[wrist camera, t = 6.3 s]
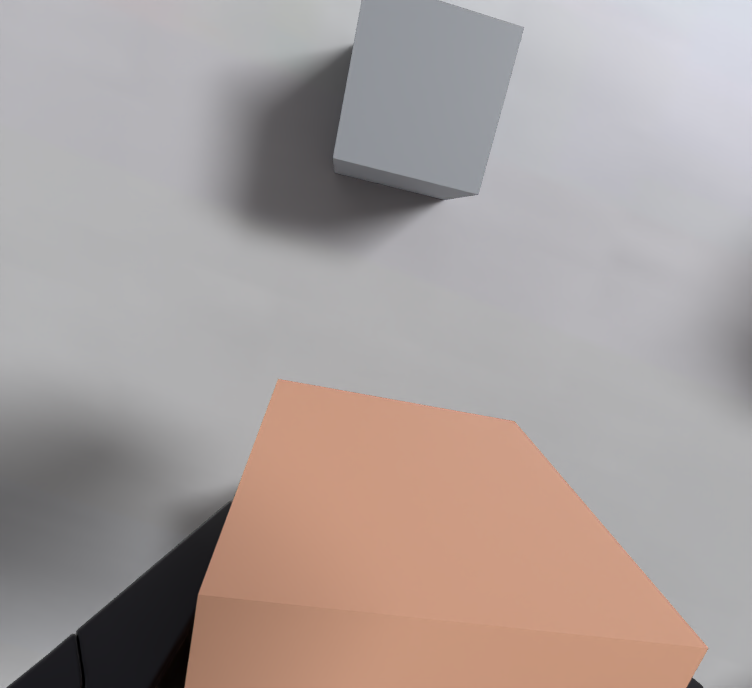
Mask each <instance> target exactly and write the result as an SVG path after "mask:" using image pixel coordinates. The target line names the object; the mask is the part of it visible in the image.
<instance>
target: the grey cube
mask: <svg viewBox="0 0 752 688" xmlns="http://www.w3.org/2000/svg"><path fill="white" fill-rule="evenodd" d="M523 30H524V27H522V26H519V25H515V24H512V23H509V22H506V21H503V20H499V19H496V18H493V17H490V16H487V15H484V14H480V13H477V12H474V11H471V10H468V9H465V8H461V7H458V6H455V5H452V4H449V3H445V2H442V1H439V0H362V1H361V7H360V12H359V18H358V23H357V28H356V34H355V39H354V45H353V50H352V56H351V61H350V67H349V72H348V78H347V83H346V88H345V94H344V99H343V105H342V110H341V116H340V121H339V127H338V132H337V138H336V143H335V148H334V154H333V164H334V173H338V174H342V175H346V176H350V177H354V178H358V179H362V180H366V181H370V182H374V183H378V184H382V185H386V186H390V187H394V188H398V189H402V190H406V191H410V192H414V193H418V194H422V195H426V196H430V197H434V198H438V199H443V200H447V199H454V198H460V197H466V196H473V195H478V194H479V191H480V187H481V183H482V180H483V176H484V172H485V169H486V165H487V161H488V158H489V154H490V150H491V147H492V143H493V139H494V136H495V132H496V128H497V125H498V121H499V118H500V114H501V110H502V107H503V103H504V99H505V96H506V92H507V88H508V85H509V81H510V77H511V74H512V70H513V66H514V63H515V59H516V55H517V52H518V48H519V44H520V41H521V37H522V33H523Z"/></svg>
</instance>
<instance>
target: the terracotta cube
mask: <svg viewBox="0 0 752 688" xmlns="http://www.w3.org/2000/svg"><path fill="white" fill-rule="evenodd" d="M707 650H708V647H707V646H706V645H705V644H704V642H703V641H702V640H701V639H700V638H699V637H698V635H697V634H696V633H695V632H694V631H693V630H692V628H691V627H690V626H689V625H688V624H687V623H686V621H685V620H684V619H683V618H682V617H681V616H680V614H679V613H678V612H677V611H676V610H675V608H674V607H673V606H672V605H671V604H670V603H669V601H668V600H667V599H666V598H665V597H664V596H663V594H662V593H661V592H660V591H659V590H658V589H657V587H656V586H655V585H654V584H653V583H652V582H651V580H650V579H649V578H648V577H647V576H646V575H645V573H644V572H643V571H642V570H641V569H640V568H639V566H638V565H637V564H636V563H635V562H634V561H633V559H632V558H631V557H630V556H629V555H628V554H627V552H626V551H625V550H624V549H623V548H622V546H621V545H620V544H619V543H618V542H617V541H616V539H615V538H614V537H613V536H612V535H611V534H610V532H609V531H608V530H607V529H606V528H605V527H604V525H603V524H602V523H601V522H600V521H599V520H598V518H597V517H596V516H595V515H594V514H593V513H592V511H591V510H590V509H589V508H588V507H587V506H586V504H585V503H584V502H583V501H582V500H581V499H580V497H579V496H578V495H577V494H576V493H575V492H574V490H573V489H572V488H571V487H570V486H569V484H568V483H567V482H566V481H565V480H564V479H563V477H562V476H561V475H560V474H559V473H558V472H557V470H556V469H555V468H554V467H553V466H552V465H551V463H550V462H549V461H548V460H547V459H546V458H545V456H544V455H543V454H542V453H541V452H540V451H539V449H538V448H537V447H536V446H535V445H534V444H533V442H532V441H531V440H530V439H529V438H528V437H527V435H526V434H525V433H524V432H523V431H522V430H521V428H520V427H519V426H518V425H517V424H516V422H515V421H510V420H505V419H499V418H493V417H488V416H482V415H477V414H471V413H465V412H460V411H454V410H449V409H443V408H437V407H432V406H426V405H421V404H415V403H410V402H404V401H398V400H393V399H387V398H382V397H376V396H370V395H365V394H359V393H354V392H348V391H342V390H337V389H331V388H326V387H320V386H315V385H309V384H303V383H298V382H292V381H287V380H281V379H278V381H277V383H276V386H275V389H274V391H273V394H272V397H271V400H270V402H269V405H268V408H267V410H266V413H265V416H264V418H263V421H262V424H261V426H260V429H259V432H258V435H257V437H256V440H255V443H254V445H253V448H252V451H251V453H250V456H249V459H248V461H247V464H246V467H245V470H244V472H243V475H242V478H241V480H240V483H239V486H238V488H237V491H236V494H235V496H234V499H233V502H232V505H231V507H230V510H229V513H228V515H227V518H226V521H225V523H224V526H223V529H222V531H221V534H220V537H219V540H218V542H217V545H216V548H215V550H214V553H213V556H212V558H211V561H210V564H209V566H208V569H207V572H206V575H205V577H204V580H203V583H202V585H201V588H200V591H199V593H198V598H197V605H196V612H195V619H194V626H193V633H192V640H191V647H190V653H189V660H188V667H187V674H186V681H185V688H686V687H687V685H688V684H689V682H690V680H691V678H692V677H693V675H694V673H695V671H696V669H697V668H698V666H699V664H700V662H701V661H702V659H703V657H704V655H705V654H706V652H707Z"/></svg>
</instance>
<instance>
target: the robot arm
mask: <svg viewBox="0 0 752 688" xmlns="http://www.w3.org/2000/svg"><path fill="white" fill-rule="evenodd" d="M232 502H233V501H230V502H228V503H227V504H226V505H225V506H223V507H222V508H221V509H220V510H219V511H218V512H216V513H215V514H214V515H213V516H212V517H210V518H209V519H208V520H207V521H206V522H204V523H203V524H202V525H201V526H200V527H199V528H197V529H196V530H195V531H194V532H193V533H191V534H190V535H189V536H188V537H187V538H186V539H184V540H183V541H182V542H181V543H180V544H178V545H177V546H176V547H175V548H174V549H172V550H171V551H170V552H169V553H168V554H167V555H165V556H164V557H163V558H162V559H161V560H159V561H158V562H157V563H156V564H155V565H153V566H152V567H151V568H150V569H149V570H148V571H146V572H145V573H144V574H143V575H142V576H140V577H139V578H138V579H137V580H136V581H135V582H133V583H132V584H131V585H130V586H129V587H127V588H126V589H125V590H124V591H123V592H121V593H120V594H119V595H118V596H117V597H116V598H114V599H113V600H112V601H111V602H110V603H108V604H107V605H106V606H105V607H104V608H103V609H101V610H100V611H99V612H98V613H97V614H95V615H94V616H93V617H92V618H91V619H89V620H88V621H87V622H86V623H85V624H84V625H82V626H81V627H80V628H79V629H78V630H77V631H76V634H72V635H70V636H69V637H68V638H67V639H65V640H64V641H63V642H62V643H61V644H59V645H58V646H57V647H56V648H55V649H54V650H52V651H51V652H50V653H49V654H48V655H46V656H45V657H44V658H43V659H41V660H40V661H39V662H38V663H36V664H35V665H34V666H33V667H32V668H30V669H29V670H28V671H27V672H25V673H24V674H23V675H22V676H20V677H19V678H18V679H17V680H15V681H14V682H13V683H12V684H10V685H9V686H8V687H7V688H185V681H186V674H187V667H188V660H189V653H190V647H191V640H192V633H193V626H194V619H195V612H196V605H197V598H198V593H199V591H200V588H201V585H202V583H203V580H204V577H205V575H206V572H207V569H208V566H209V564H210V561H211V558H212V556H213V553H214V550H215V548H216V545H217V542H218V540H219V537H220V534H221V531H222V529H223V526H224V523H225V521H226V518H227V515H228V513H229V510H230V507H231V505H232ZM686 688H703V686H702V685H701V684H700V683H698V682H697V681H696V680H695V679H693V678H691V680H690V682H689V684H688V685H687V687H686Z"/></svg>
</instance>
